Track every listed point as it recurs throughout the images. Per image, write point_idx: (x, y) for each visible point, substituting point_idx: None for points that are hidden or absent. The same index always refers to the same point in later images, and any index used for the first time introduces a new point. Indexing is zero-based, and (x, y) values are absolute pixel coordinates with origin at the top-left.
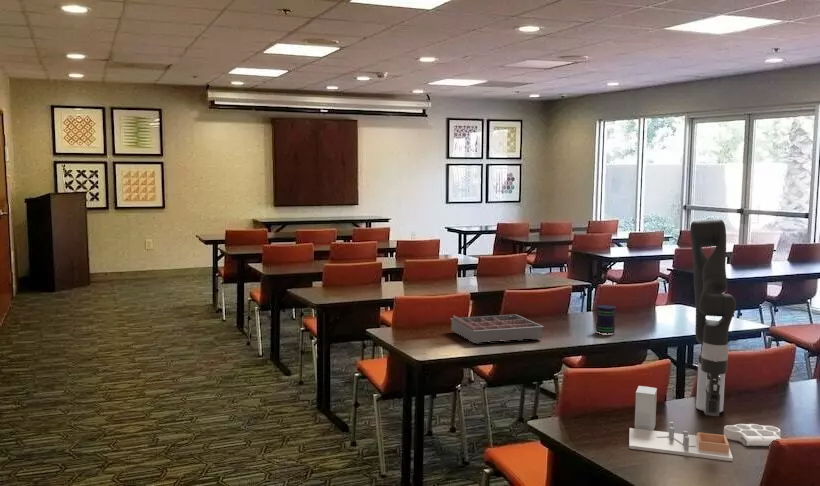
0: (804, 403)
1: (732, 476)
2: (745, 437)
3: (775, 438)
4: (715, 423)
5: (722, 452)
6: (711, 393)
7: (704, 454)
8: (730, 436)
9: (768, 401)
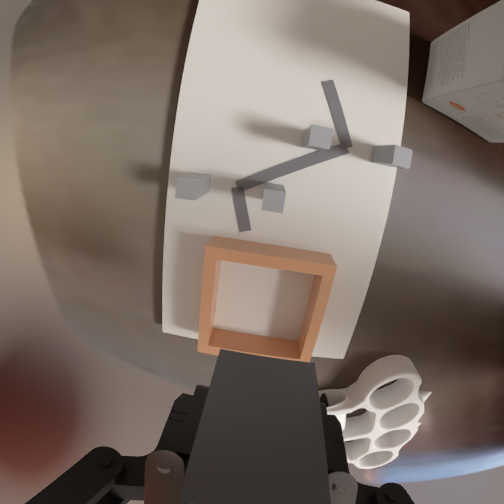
0: (491, 463)
1: (62, 286)
2: None
3: None
4: (480, 345)
5: None
6: (47, 493)
7: (165, 245)
8: (368, 373)
9: None
